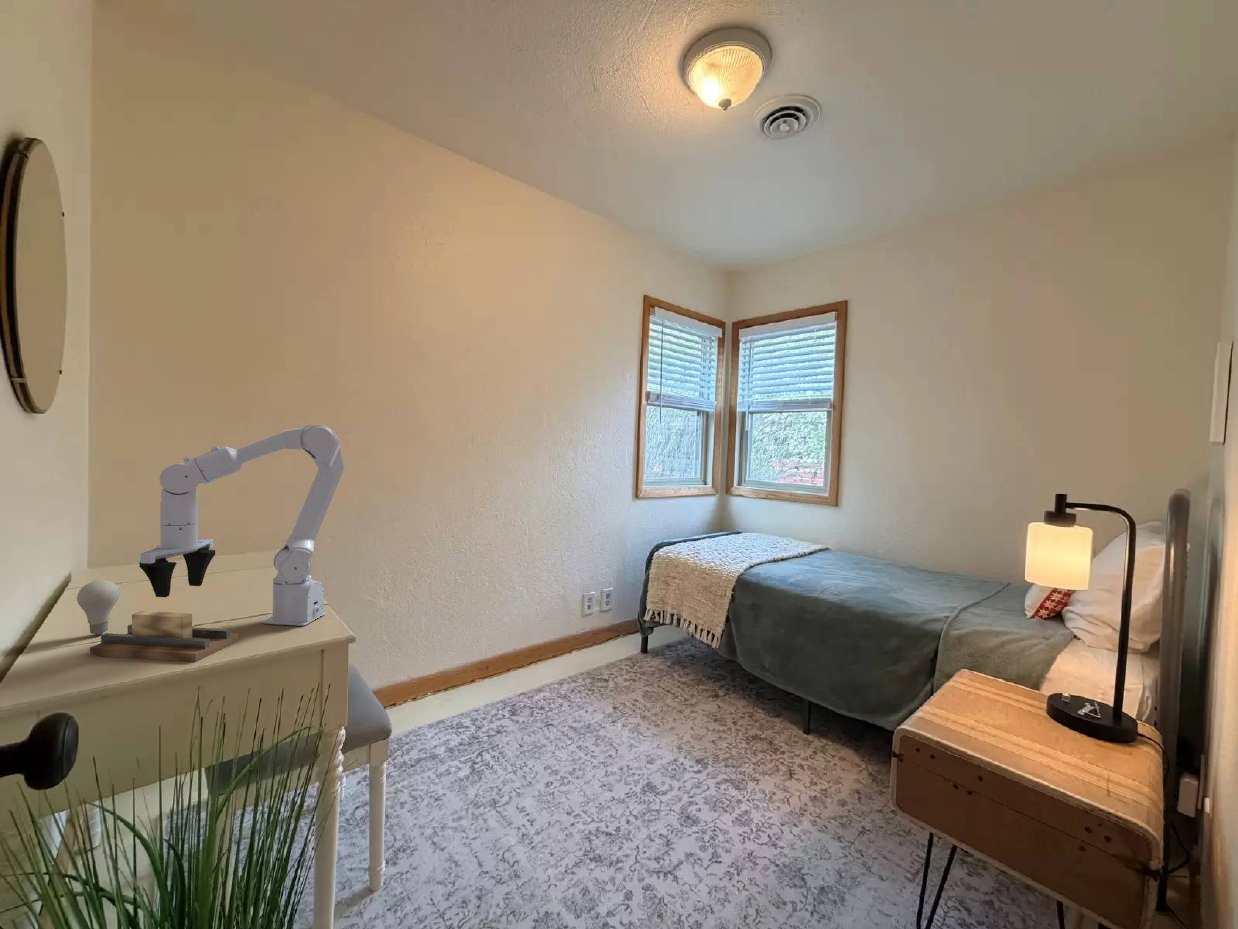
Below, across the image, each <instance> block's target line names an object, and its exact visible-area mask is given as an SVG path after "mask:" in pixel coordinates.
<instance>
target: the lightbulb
mask: <svg viewBox="0 0 1238 929" xmlns="http://www.w3.org/2000/svg"><path fill="white" fill-rule="evenodd" d="M120 596H121V590H120V587H119V586H118V585H117V584H116V583H115V582H113V581H111V580H105V579H99V580H93V581H90V582H88V583H86V584H85V585H83V586H82V587H81V588H80V589H79V591H78V593H77V595H76V601H77V604H78V605H79V607H80V608H81V609H82V611H83V612H84V613H85V615H86V619H87V624H89V633H90V634H92V635H95V636H101V635H103V634H105V632H107V631H108V629H109V621H110V619H111V614H112V610H113V608H114V607H115V605H116V604H117V603H118V601H119V599H120Z"/></svg>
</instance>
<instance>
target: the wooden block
mask: <svg viewBox="0 0 1238 929" xmlns="http://www.w3.org/2000/svg"><path fill="white" fill-rule="evenodd" d="M131 624H132V635H146V636H164V637H181V638H192V627H193V613H189V612H187V613H186V612H185V613H184V612H170V611H169V612H168V611H167V612H166V611H154V610H153V611H151V610H141V611H138V612H135V613H132V614H131Z"/></svg>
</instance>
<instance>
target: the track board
mask: <svg viewBox="0 0 1238 929" xmlns="http://www.w3.org/2000/svg"><path fill="white" fill-rule="evenodd" d="M237 642H239V633H238V632H232V630H231V629H229V628H227V629H226V628H213V627H212V628H210V627H195V626H194V627H193V626H192V638H181V637H164V636H146V635H132V623H131V624H128V625H127V633H109V632H107V633H103V634H101V635H100V643H98V644H95V645H92V646H90V647H89V656H91V655H96V656H95V657H107V658H108V657H110V658H112V657H113V658H124V657H125V658H127V659H142V660H143V659H146V660H160V661H162V660H163V661H177V662H179V661H180V662H196V663H197V662H198V661H200V660H202V659H204V658H206V657H208V656H210V655H212V654H215V653H216V652H218V651H221V650H222V649H225V648H227V647H228V646H231V645H232V644H235V643H237ZM125 658H124V659H125Z"/></svg>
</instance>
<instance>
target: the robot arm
mask: <svg viewBox="0 0 1238 929" xmlns="http://www.w3.org/2000/svg"><path fill="white" fill-rule="evenodd" d="M340 442H341V441H340V440H339V438H338V436H337V435H336V434H335V433H334V431H333V430H332V429H331V428H330V427H329V426H326V425H324V424H308V425H305V426H303V427H297V428H291V429H286V430H283V431H279V432H277V433H275V434H272V435H269V436H267V437H264V438H261V439H259V440H257V441H254V442H252V443H248V444H247V445H244V446H241V447H239V448H232V447H229V446H225V445H224V446H222V447H219V446H218V445H216V446H213V447H211V448H210V451H207V452H205V453H201V454H199V455H196V456H193V457H190V456H186V457H183V458H182V459H183V460H182V461H183V463H181V462H177V463H172V464H170V465H167V466H166V467H165V468H164V469H163V470H162V471H161V473H160V475H159V484H160V485H161V487H162V489H161V492H160V498H161V500H160V502H159V503H160V504H159V505H160V506H159V508H160V511H159V512H160V515H159V516H160V519H159V523H160V524H159V525H160V526H159V527H160V528H159V529H160V543H159V544H158V545H156V547H154V548H152V549H149V550H147V551H143V552H140V561H139V566H138V567H139V568H140V569H141V570H142V571H143V573H145V575H146V577H147V578H148V581H149V582H150V584H151V586H152V590H153V592H154V595H155V598H168V597H170V594H171V585H172V584H171V582H172V577H173V573H174V569H175V567H176V565H177V562H176V561H169V560H167V559H171V558H174V557H177V556H183V559H184V562H185V565H186V568H187V581H188V584H189V587H201V586H202V585H203V582H204V579H205V575H206V572H207V569H208V567H209V564H210V563H211V562H212V560H213V558H214V557H215V555H216V550H215V549H213V548H214V538H202V539H201V538H200V539H198V538H199V520H198V519H199V517H198V516H199V514H198V513H199V504H198V503H199V502H198V501H199V500H198V499H197V489H196V488H197V487H198V486H199V484H205V485H206V484H209V483H212V482H214V481H217V480H220V479H222V478H224V477H227V476H230V475H233V474H235V473H239V472H240V471H241V470H242V467H243V464H244V463H246V462H250V461H252V460H255V459H258V458H261V457H263V456H267V455H270V454H273V453H276V452H279V451H282V450H285V449H286V450H287V449H288V450H301V451H302V450H304V452H306V453H307V454H308V455H309V456H311V458H312V460H313V462H314V464H315V465H316V467H317V471H316V474H315V477H314V480H313V481H312V483H311V486H310V489H309V491H308V494H307V496H306V498H305V500H304V503H303V505H302V508H301V510H300V513H299V515H298V518H297V520H296V522H295V525H294V527H293V529H292V531H291V534H290V535H289V536H288V538H287V540H286V541H285V544H284V545H283V547H282V548H281V549H280V550H279V551H277V553H276V554H275V555H274V557H273V567H274V568H275V570H276V571H277V574H276V576H275V577H274V578H273V579H272V616H271V617H269V618H267V619H265V620H263V621H262V624H265V625H281V626H285V625H286V626H301V627H303V626H306V625H308V624H310V623H312V622H314V621H315V619H316V620H318V619H319V618H321V617H323V616H325V615H326V611H324V607H325V605H324V604H325V603H324V601H325V599H324V598H325V588H324V585H323V583H322V582H321V581H317V580H314V579H312V575H311V574H310V573H311V571H312V570H313V569H312V566H313V565H312V564H313V563H312V557H313V554H314V551H315V541H316V538H317V537H318V534H319V531H320V529H321V527H322V524H323V522H324V519H325V517H326V514H327V513H328V512H327V511H328V509H329V507H330V505H331V502H332V500H333V497H334V495H335V492H336V489H337V488H338V485H339V483H340V480H341V478H342V475H343V473H344V469H345V462H344V460H343V455H342V451H341V450H342V449H341V446H340V445H341V444H340ZM320 616H321V617H320ZM317 618H318V619H317Z"/></svg>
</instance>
